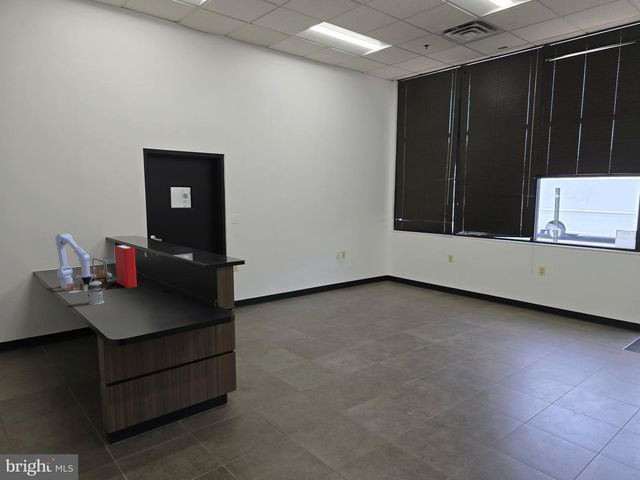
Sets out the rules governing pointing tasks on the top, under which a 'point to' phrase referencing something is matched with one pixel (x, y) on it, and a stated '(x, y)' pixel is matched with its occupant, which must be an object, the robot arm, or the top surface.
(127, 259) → the book
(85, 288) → the pale blue block
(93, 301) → the french press
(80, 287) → the tan notched piece
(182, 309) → the top surface
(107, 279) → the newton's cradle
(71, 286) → the canister
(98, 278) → the cigar case
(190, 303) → the top surface
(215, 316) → the top surface
